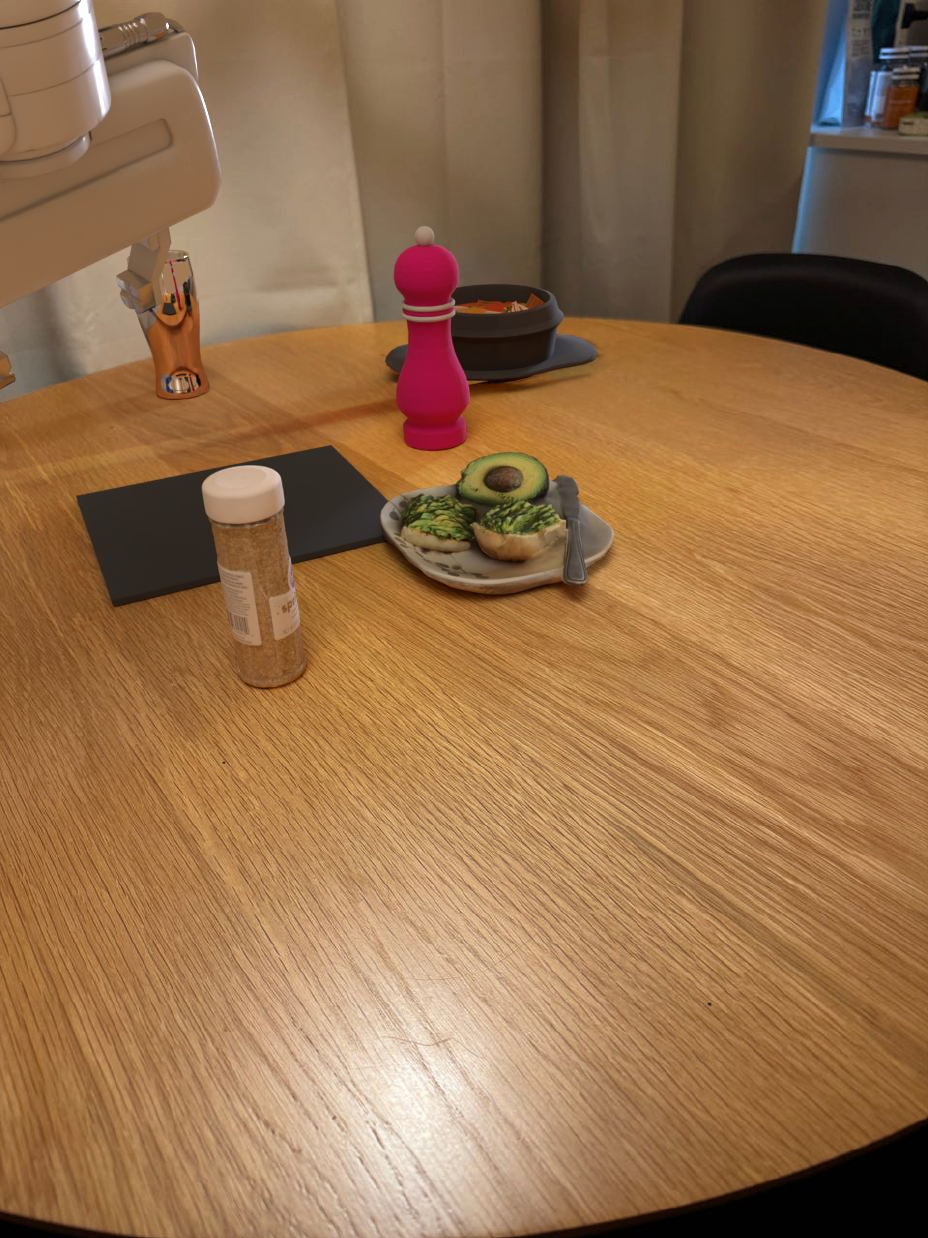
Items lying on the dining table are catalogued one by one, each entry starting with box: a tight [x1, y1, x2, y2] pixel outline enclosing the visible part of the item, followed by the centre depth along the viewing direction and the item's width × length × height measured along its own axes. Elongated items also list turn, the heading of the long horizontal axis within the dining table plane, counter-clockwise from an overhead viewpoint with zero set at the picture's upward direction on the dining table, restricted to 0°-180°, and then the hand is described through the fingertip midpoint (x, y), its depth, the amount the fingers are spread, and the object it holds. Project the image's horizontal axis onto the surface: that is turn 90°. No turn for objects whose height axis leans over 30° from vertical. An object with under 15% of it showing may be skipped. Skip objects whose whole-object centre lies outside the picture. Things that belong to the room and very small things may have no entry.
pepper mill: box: [393, 225, 471, 451], centre depth 92 cm, size 7×7×20 cm
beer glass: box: [126, 249, 211, 400], centre depth 109 cm, size 7×7×15 cm
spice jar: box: [202, 465, 308, 689], centre depth 59 cm, size 5×5×13 cm
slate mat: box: [75, 444, 389, 607], centre depth 83 cm, size 24×21×1 cm
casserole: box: [384, 283, 598, 385], centre depth 113 cm, size 25×19×8 cm
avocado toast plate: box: [380, 451, 615, 595], centre depth 75 cm, size 19×18×5 cm
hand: (72, 342), depth 51 cm, fingers open, 8 cm apart
